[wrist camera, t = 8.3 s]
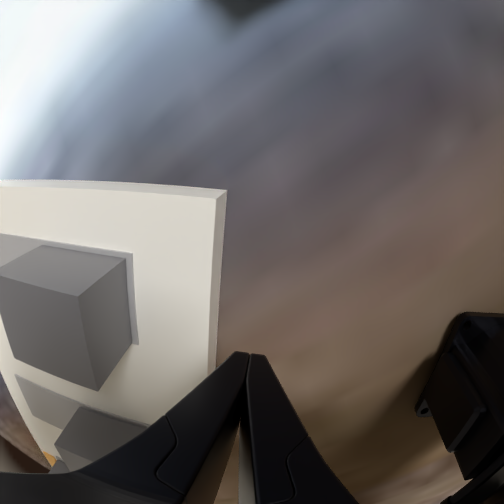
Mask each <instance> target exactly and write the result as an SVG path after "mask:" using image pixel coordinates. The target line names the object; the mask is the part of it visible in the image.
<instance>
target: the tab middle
mask: <svg viewBox="0 0 504 504" xmlns="http://www.w3.org/2000/svg"><path fill="white" fill-rule="evenodd" d="M145 429H147V428H143V427H140V426H136V425H133V424H129V423H126V422H123V421H120V420H116V419H113V418H110V417H107V416H104V415H101V414H98V413H96V412H93V411H90V410H87V409H85V408H82V407H79V408H78V409H77V411H76V412H75V413H74V415H73V416H72V418H71V419H70V421H69V422H68V424H67V425H66V427H65V428H64V430H63V431H62V433H61V434H60V436H59V437H58V439H57V440H56V442H55V443H54V445H55V447H56V449H57V451H58V452H59V454H60V456H61V458H62V459H63V461H64V462H65V464H66V466H67V467H68V469H69V470H70V472H71V471H75V470H77V469H80V468H82V467H84V466H86V465H88V464H90V463H92V462H94V461H96V460H97V459H99V458H101V457H103V456H104V455H106V454H108V453H110V452H111V451H113V450H115V449H116V448H118V447H120V446H121V445H123V444H125V443H126V442H128V441H129V440H131V439H132V438H134V437H136V436H137V435H139V434H140V433H141V432H143V431H144V430H145Z"/></svg>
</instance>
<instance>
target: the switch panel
mask: <svg viewBox="0 0 504 504" xmlns="http://www.w3.org/2000/svg"><path fill="white" fill-rule="evenodd" d="M226 200H227V190H221V189H210V188H199V187H187V186H175V185H161V184H146V183H129V182H110V181H84V180H0V267H1V266H3V265H5V264H7V263H9V262H10V261H12V260H14V259H16V258H18V257H20V256H21V255H23V254H25V253H27V252H29V251H31V250H33V249H35V248H37V247H39V246H41V245H46V246H52V247H58V248H64V249H70V250H76V251H82V252H89V253H95V254H101V255H108V256H114V257H121V258H126V277H127V292H128V304H129V315H130V325H131V334H132V344H131V345H130V346H129V348H128V349H127V351H126V352H125V354H124V355H123V356H122V358H121V359H120V361H119V362H118V364H117V365H116V366H115V368H114V369H113V371H112V372H111V374H110V375H109V377H108V378H107V380H106V381H105V382H104V384H103V385H102V387H101V388H100V390H99V391H95V390H92V389H89V388H86V387H83V386H80V385H77V384H75V383H72V382H69V381H67V380H64V379H61V378H59V377H56V376H54V375H51V374H49V373H47V372H44V371H42V370H39V369H37V368H35V367H33V366H30V365H28V364H26V363H24V362H21V361H19V360H17V359H15V358H14V356H13V353H12V350H11V347H10V344H9V341H8V338H7V335H6V332H5V328H4V325H3V322H2V318H1V315H0V371H1V374H2V376H3V378H4V381H5V383H6V385H7V387H8V389H9V392H10V394H11V396H12V398H13V400H14V402H15V404H16V406H17V408H18V410H19V412H20V414H21V416H22V418H23V420H24V421H25V423H26V425H27V427H28V429H29V430H30V432H31V434H32V436H33V437H34V439H35V441H36V442H37V444H38V446H39V447H40V449H41V451H42V452H43V454H44V455H45V457H46V458H47V460H48V462H49V463H50V465H51V466H52V467H53V465H54V464H55V462H56V461H57V459H58V460H60V461H62V462H64V461H63V459H62V458H61V456H60V454H59V452H58V451H57V449H56V447H55V445H54V443H55V442H56V440H57V439H58V437H59V436H60V434H61V433H62V431H63V430H64V428H65V427H66V425H67V424H68V422H69V421H70V419H71V418H72V416H73V415H74V413H75V412H76V411H77V409H78V408H79V407H82V408H85V409H87V410H90V411H93V412H96V413H98V414H101V415H104V416H107V417H110V418H113V419H116V420H120V421H123V422H126V423H129V424H133V425H136V426H140V427H143V428H148V427H149V426H151V425H152V424H153V423H154V422H156V421H157V420H158V419H159V418H160V417H161V416H163V415H165V413H166V412H168V411H169V410H170V409H171V408H172V407H173V406H175V405H176V404H177V403H178V402H179V401H180V400H181V399H183V398H184V397H185V396H186V395H187V394H188V393H189V392H191V391H192V390H193V389H194V388H195V387H196V386H197V385H199V384H200V383H201V382H202V381H203V380H204V379H205V378H206V377H207V376H209V375H210V374H211V373H212V372H213V371H214V370H215V369H216V349H217V330H218V312H219V296H220V280H221V266H222V252H223V238H224V225H225V213H226ZM64 463H65V462H64Z"/></svg>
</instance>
